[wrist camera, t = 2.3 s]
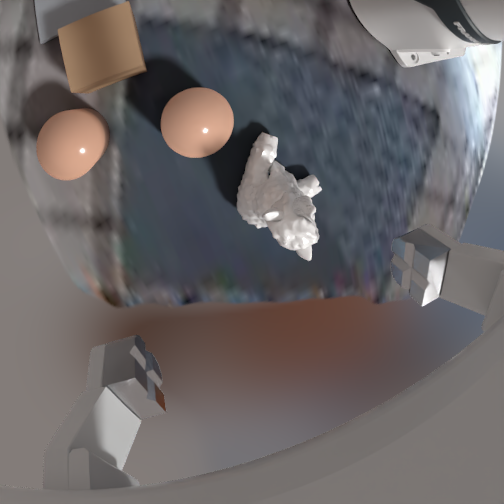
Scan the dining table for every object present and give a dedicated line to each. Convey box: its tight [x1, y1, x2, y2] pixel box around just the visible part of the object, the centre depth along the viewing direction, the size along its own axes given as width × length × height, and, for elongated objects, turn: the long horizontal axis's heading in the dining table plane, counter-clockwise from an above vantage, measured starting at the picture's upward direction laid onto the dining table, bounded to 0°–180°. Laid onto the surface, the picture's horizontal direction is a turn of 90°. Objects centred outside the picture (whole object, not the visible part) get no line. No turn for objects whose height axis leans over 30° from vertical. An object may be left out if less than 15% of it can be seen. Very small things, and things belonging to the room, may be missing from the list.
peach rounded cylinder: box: [37, 108, 110, 180], centre depth 22 cm, size 6×6×5 cm
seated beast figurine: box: [237, 132, 322, 261], centre depth 27 cm, size 10×9×12 cm
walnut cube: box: [58, 1, 147, 93], centre depth 19 cm, size 6×6×6 cm
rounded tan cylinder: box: [161, 87, 234, 158], centre depth 25 cm, size 6×6×5 cm
